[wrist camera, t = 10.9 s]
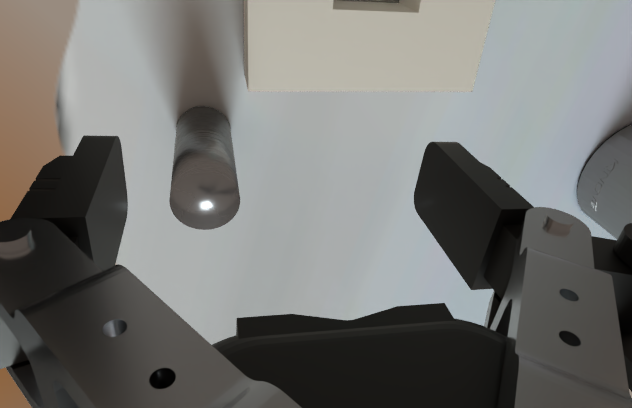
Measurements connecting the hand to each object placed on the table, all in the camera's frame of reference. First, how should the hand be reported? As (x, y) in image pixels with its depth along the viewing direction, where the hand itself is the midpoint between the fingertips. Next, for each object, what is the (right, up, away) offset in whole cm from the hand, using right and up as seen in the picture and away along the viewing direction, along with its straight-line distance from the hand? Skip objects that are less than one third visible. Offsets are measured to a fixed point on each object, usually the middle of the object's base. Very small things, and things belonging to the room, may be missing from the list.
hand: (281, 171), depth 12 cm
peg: (-6, +4, +16) cm, 17 cm away
